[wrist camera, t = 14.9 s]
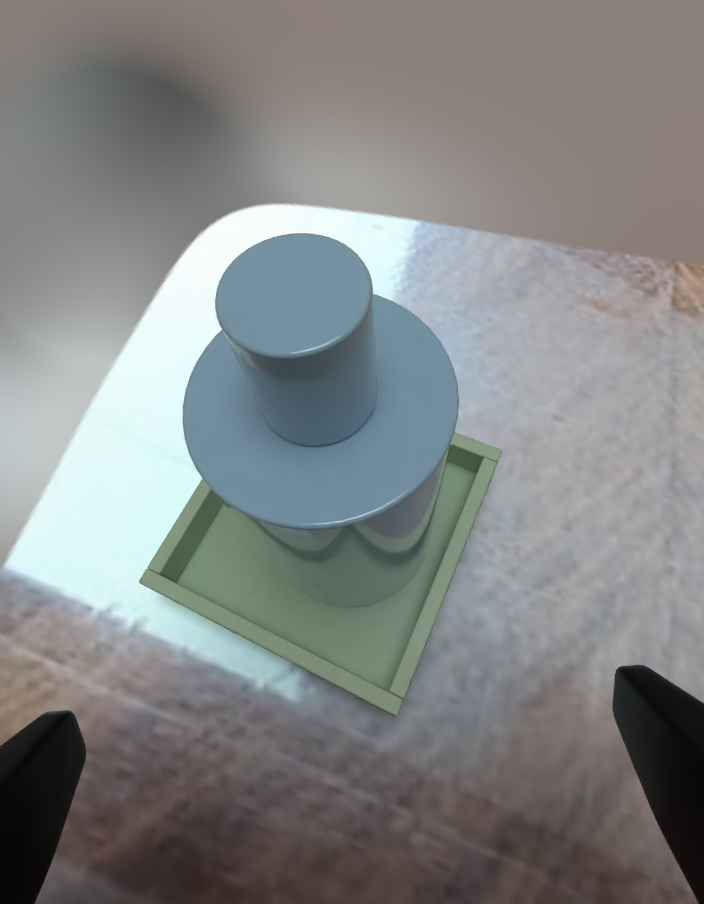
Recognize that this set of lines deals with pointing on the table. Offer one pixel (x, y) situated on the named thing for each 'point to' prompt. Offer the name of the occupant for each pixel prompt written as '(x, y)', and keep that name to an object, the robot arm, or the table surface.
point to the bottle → (323, 419)
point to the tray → (308, 620)
